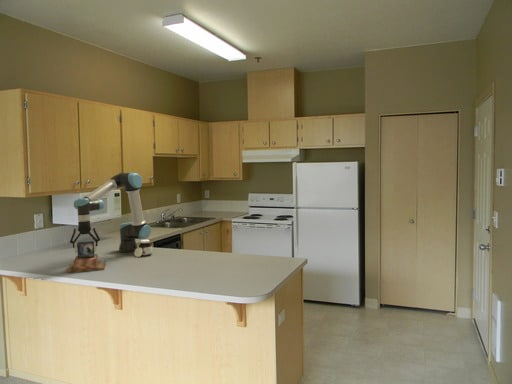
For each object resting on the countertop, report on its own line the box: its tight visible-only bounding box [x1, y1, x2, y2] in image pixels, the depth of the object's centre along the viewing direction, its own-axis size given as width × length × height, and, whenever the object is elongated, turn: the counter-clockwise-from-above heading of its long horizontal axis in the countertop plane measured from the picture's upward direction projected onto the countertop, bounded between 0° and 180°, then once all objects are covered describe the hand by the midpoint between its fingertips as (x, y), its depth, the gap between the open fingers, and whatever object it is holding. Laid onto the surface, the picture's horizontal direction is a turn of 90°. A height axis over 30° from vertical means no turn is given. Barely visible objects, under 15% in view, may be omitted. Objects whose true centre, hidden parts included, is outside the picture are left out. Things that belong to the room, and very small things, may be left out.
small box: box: [76, 240, 95, 259], centre depth 288 cm, size 11×6×10 cm, turn 106°
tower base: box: [65, 253, 107, 274], centre depth 289 cm, size 24×19×8 cm
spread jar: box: [134, 239, 153, 258], centre depth 323 cm, size 12×11×12 cm
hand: (85, 251), depth 288 cm, fingers open, 12 cm apart
